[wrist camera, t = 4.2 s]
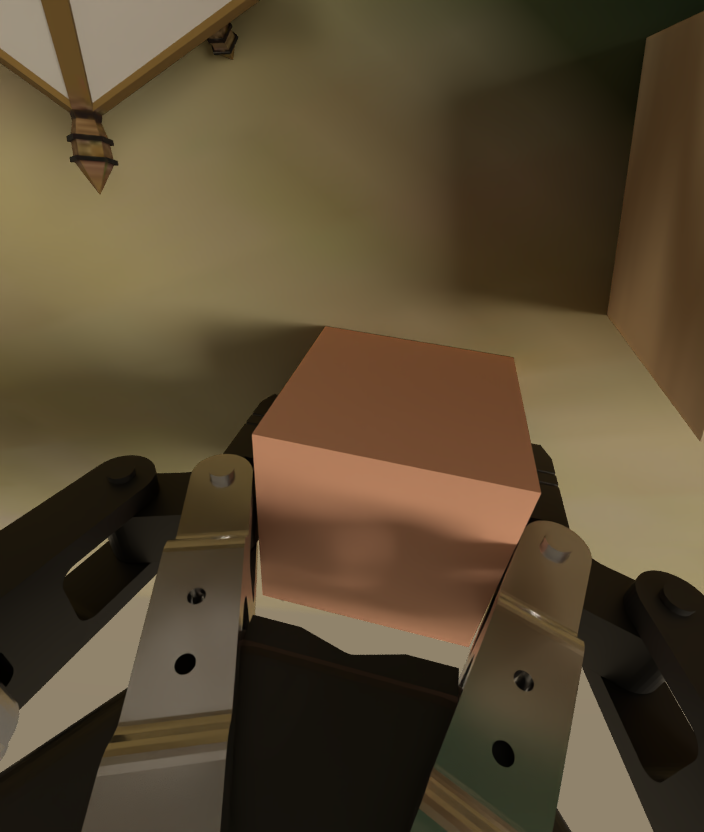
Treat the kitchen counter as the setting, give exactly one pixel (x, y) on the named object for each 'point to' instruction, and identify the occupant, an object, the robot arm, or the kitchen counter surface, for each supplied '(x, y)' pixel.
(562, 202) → the kitchen counter surface
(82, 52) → the game die
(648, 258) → the birch block
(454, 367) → the terracotta block
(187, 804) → the robot arm
